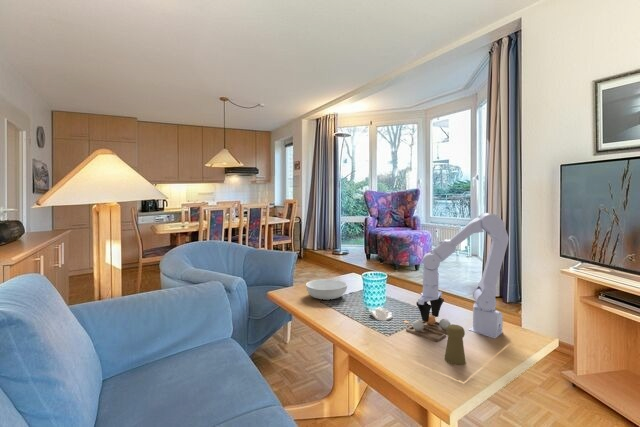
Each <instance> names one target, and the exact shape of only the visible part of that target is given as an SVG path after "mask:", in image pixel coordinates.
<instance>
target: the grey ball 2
mask: <svg viewBox="0 0 640 427" xmlns="http://www.w3.org/2000/svg"><path fill="white" fill-rule="evenodd" d="M438 322H439V325H440V327H441V329H443V330H446V329H447V327H448V326H449V325H452V324H451V321H449V319H446V318H441V320H439V321H438Z"/></svg>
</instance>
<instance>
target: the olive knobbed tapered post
mask: <svg viewBox="0 0 640 427" xmlns="http://www.w3.org/2000/svg"><path fill="white" fill-rule="evenodd" d="M446 333H447V334H446V336H447V340H446V348H445V354H444V361H445V362H447V363H448V364H451V365H454V366H462V365H465V364H466V357H465V347H464V339H463V338H464V337H465V329H464V327H462V326H461V325H460V324H451V325H449V326H448V327H447V329H446Z"/></svg>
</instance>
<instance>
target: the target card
mask: <svg viewBox="0 0 640 427" xmlns="http://www.w3.org/2000/svg"><path fill="white" fill-rule="evenodd" d="M402 323H404V324H409V323H410V321H408V320H404V321H402ZM411 326H413V323H412V324H411Z"/></svg>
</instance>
